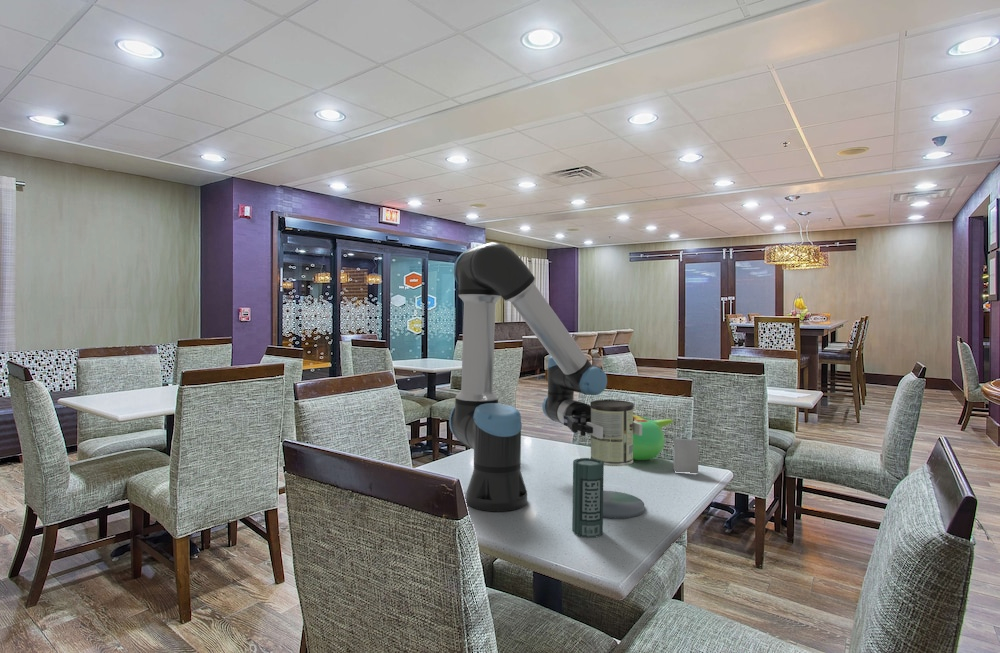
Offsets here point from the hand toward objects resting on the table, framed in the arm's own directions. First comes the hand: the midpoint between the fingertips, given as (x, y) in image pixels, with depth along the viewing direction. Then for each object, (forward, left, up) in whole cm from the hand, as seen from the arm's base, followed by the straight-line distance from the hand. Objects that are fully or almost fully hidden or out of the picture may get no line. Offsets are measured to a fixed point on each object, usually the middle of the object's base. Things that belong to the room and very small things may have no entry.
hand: (621, 431), depth 126 cm
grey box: (+37, +22, -19) cm, 47 cm away
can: (-13, -8, -19) cm, 25 cm away
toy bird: (+33, +40, -19) cm, 55 cm away
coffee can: (0, +4, -8) cm, 9 cm away
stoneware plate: (0, +4, -19) cm, 20 cm away
